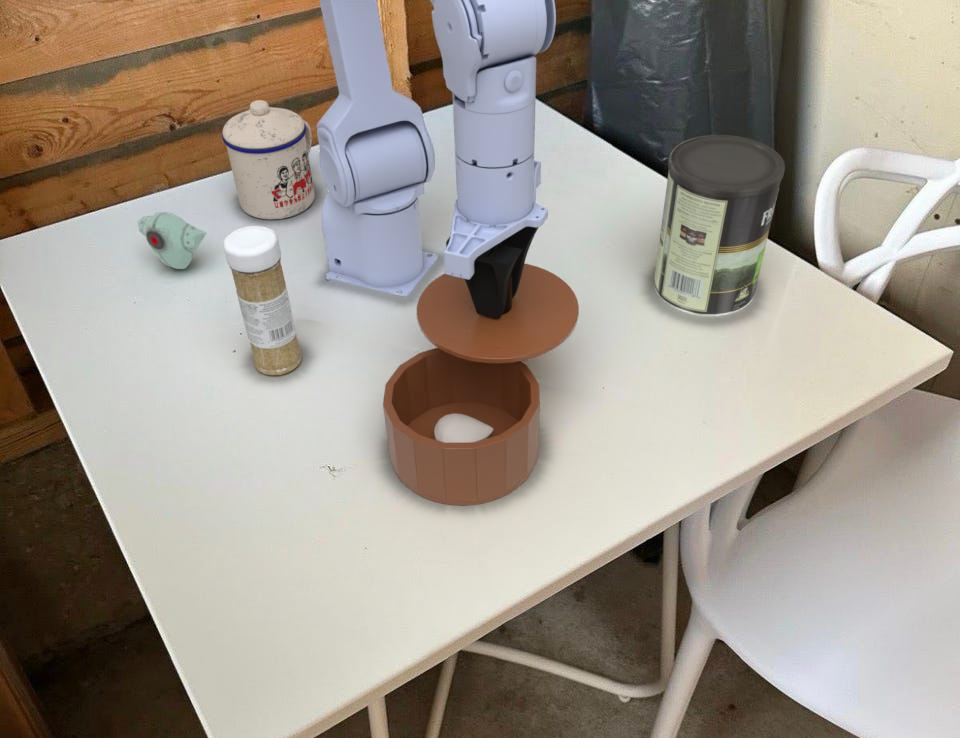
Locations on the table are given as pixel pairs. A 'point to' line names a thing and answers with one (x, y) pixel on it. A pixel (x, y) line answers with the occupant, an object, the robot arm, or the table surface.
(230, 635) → the table surface
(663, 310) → the table surface
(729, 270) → the coffee can
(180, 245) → the robot head
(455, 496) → the tin
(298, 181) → the teacup with lid
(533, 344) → the lid
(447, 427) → the white teardrop
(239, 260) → the spice jar
